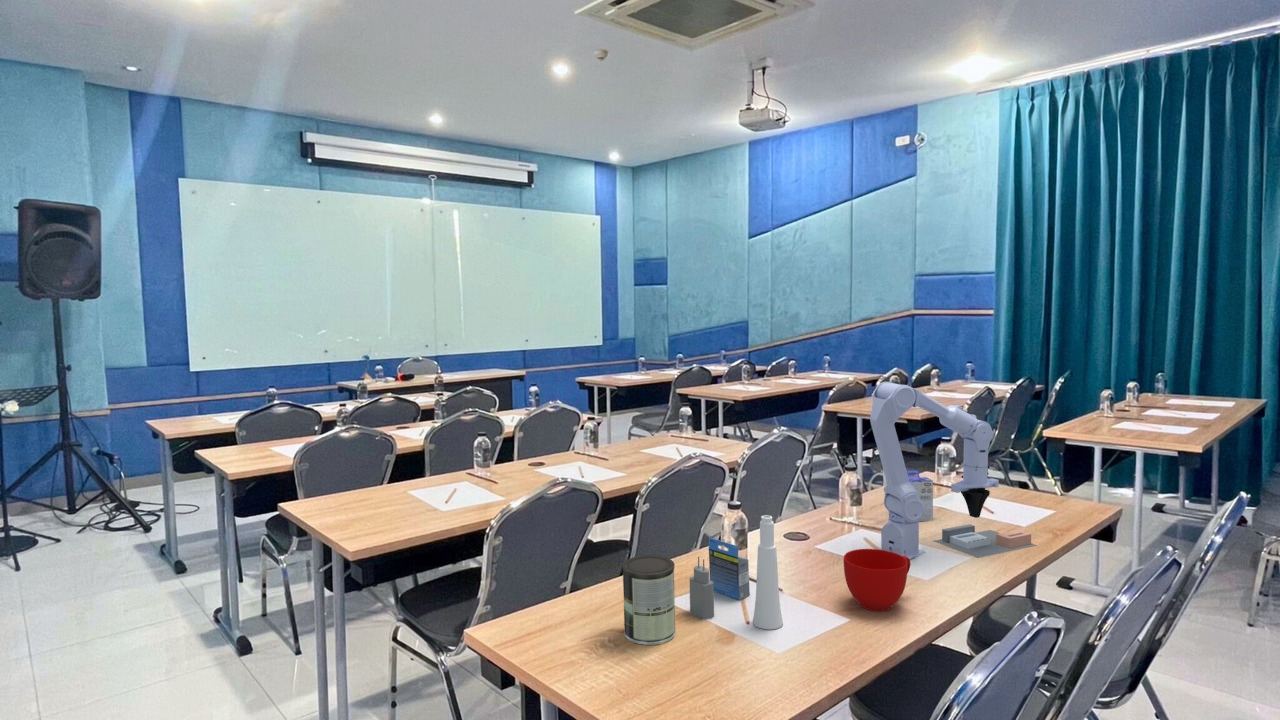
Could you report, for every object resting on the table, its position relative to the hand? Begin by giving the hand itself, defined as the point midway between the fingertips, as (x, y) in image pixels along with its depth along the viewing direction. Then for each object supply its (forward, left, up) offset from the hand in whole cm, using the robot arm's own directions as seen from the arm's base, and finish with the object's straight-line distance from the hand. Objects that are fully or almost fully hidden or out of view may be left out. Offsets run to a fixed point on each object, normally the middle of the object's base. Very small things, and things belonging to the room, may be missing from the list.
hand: (974, 516), depth 184 cm
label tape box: (-70, +20, -8) cm, 73 cm away
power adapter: (-82, +16, -8) cm, 84 cm away
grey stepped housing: (+1, +2, -8) cm, 8 cm away
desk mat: (+3, -1, -8) cm, 9 cm away
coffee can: (-96, +16, -8) cm, 98 cm away
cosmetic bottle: (-75, +4, -8) cm, 75 cm away
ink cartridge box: (+10, +23, -8) cm, 27 cm away
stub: (+8, -6, -8) cm, 13 cm away
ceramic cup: (-49, -5, -8) cm, 50 cm away
